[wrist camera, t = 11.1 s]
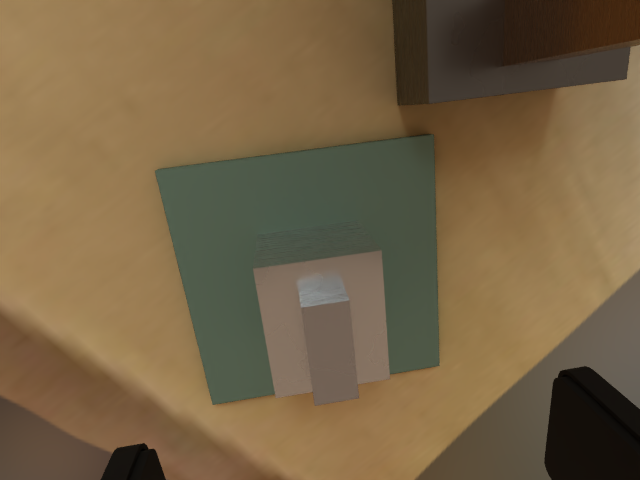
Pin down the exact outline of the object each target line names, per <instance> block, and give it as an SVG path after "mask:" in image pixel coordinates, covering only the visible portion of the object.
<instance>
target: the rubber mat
mask: <svg viewBox="0 0 640 480" xmlns="http://www.w3.org/2000/svg"><path fill="white" fill-rule="evenodd" d="M155 173H156V177H157V181H158V185H159V189H160V193H161V198H162V202H163V206H164V210H165V214H166V218H167V222H168V226H169V230H170V234H171V238H172V242H173V246H174V250H175V254H176V258H177V262H178V266H179V270H180V274H181V278H182V282H183V286H184V291H185V295H186V299H187V303H188V307H189V311H190V315H191V319H192V323H193V327H194V331H195V335H196V339H197V343H198V347H199V351H200V355H201V359H202V363H203V367H204V371H205V375H206V379H207V384H208V388H209V392H210V396H211V400H212V404H213V405H215V404H221V403H227V402H233V401H238V400H244V399H250V398H256V397H261V396H267V395H273V394H275V391H274V385H273V380H272V374H271V368H270V363H269V357H268V351H267V346H266V340H265V334H264V329H263V323H262V317H261V312H260V306H259V300H258V295H257V289H256V283H255V278H254V272H253V265H254V257H255V249H256V241H257V234H264V233H272V232H279V231H286V230H293V229H301V228H308V227H315V226H322V225H330V224H337V223H344V222H352V221H359V222H360V224H361V225H362V226H363V227H364V229H365V230H366V231H367V232H368V234H369V235H370V236H371V238H372V239H373V240H374V241H375V243H376V244H377V245H378V246H379V248H380V249H381V250H382V263H383V279H384V295H385V310H386V326H387V341H388V357H389V372H390V374H395V373H401V372H406V371H412V370H418V369H424V368H429V367H435V366H440V365H439V324H438V282H437V240H436V199H435V157H434V135H433V134H425V135H418V136H410V137H402V138H395V139H387V140H379V141H372V142H364V143H356V144H348V145H341V146H333V147H325V148H318V149H310V150H302V151H294V152H287V153H279V154H271V155H264V156H256V157H248V158H241V159H233V160H225V161H217V162H210V163H202V164H194V165H187V166H179V167H171V168H164V169H158V170H156V171H155Z"/></svg>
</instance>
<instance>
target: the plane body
mask: <svg viewBox="0 0 640 480" xmlns="http://www.w3.org/2000/svg"><path fill="white" fill-rule="evenodd" d="M392 4H393V24H394V43H395V63H396V82H397V102H398V105H415V104H431V103H439V102H447V101H455V100H463V99H471V98H479V97H487V96H495V95H503V94H511V93H519V92H527V91H535V90H543V89H552V88H560V87H568V86H576V85H584V84H592V83H600V82H608V81H616V80H624V79H627V71H628V63H629V54H630V47H631V46H636V45H640V0H392Z"/></svg>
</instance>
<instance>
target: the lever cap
mask: <svg viewBox="0 0 640 480" xmlns="http://www.w3.org/2000/svg"><path fill="white" fill-rule="evenodd" d="M253 272H254V278H255V283H256V289H257V295H258V300H259V306H260V312H261V317H262V323H263V329H264V334H265V340H266V346H267V351H268V357H269V363H270V368H271V374H272V380H273V385H274V391H275V397H276V398H280V397H286V396H292V395H298V394H304V393H310V392H313V397H314V404H315V406H316V405H322V404H328V403H334V402H340V401H346V400H352V399H357V398H359V392H358V384H363V383H369V382H375V381H381V380H387V379H390V372H389V357H388V341H387V326H386V310H385V295H384V279H383V263H382V250H381V249H380V248H379V246H378V245H377V244H376V243H375V241H374V240H373V239H372V238H371V236H370V235H369V234H368V232H367V231H366V230H365V229H364V227H363V226H362V225H361V224H360V222H359V221H352V222H344V223H337V224H330V225H322V226H315V227H308V228H301V229H293V230H286V231H279V232H272V233H264V234H257V241H256V249H255V257H254V265H253Z"/></svg>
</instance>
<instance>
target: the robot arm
mask: <svg viewBox="0 0 640 480" xmlns="http://www.w3.org/2000/svg"><path fill="white" fill-rule="evenodd" d="M545 467H546V470H547V472H548V474H549V476H550V477H551V479H552V480H640V409H639V408H638V407H636V406H635V405H634V404H633V403H631V402H630V401H629V400H628V399H627V398H626V397H625V396H623V395H622V394H621V393H620V392H619V391H618V390H616V389H615V388H614V387H613V386H611V385H610V384H609V383H608V382H607V381H606V380H605V379H603V378H602V377H601V376H600V375H599V374H597V373H596V372H595V371H594V370H592V369H591V368H589V367H586V366H584V367H579V368H573V369H567V370H562V371H560V373H559V375H558V378H555V379H554V382H553V389H552V398H551V406H550V415H549V424H548V433H547V442H546V451H545ZM101 480H166V479H165V476H164V473H163V470H162V467H161V465H160V462H159V459H158V456H157V453H156V451H155V449H148V447H147V445H146V444H145V443H143V444H137V445H131V446H125V447H120V448H117V449H116V450H115V451H114V452H113V454H112V456H111V458H110V460H109V463H108V465H107V467H106V469H105V472H104V474H103V476H102V478H101Z"/></svg>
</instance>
